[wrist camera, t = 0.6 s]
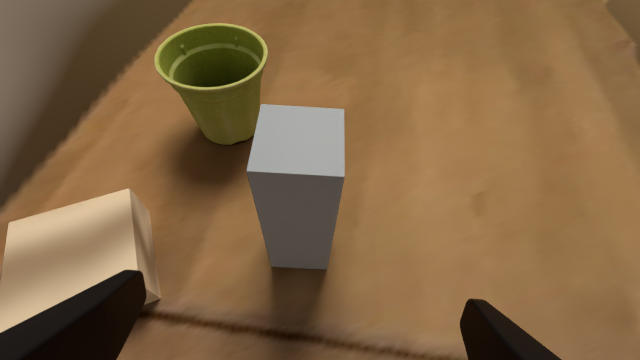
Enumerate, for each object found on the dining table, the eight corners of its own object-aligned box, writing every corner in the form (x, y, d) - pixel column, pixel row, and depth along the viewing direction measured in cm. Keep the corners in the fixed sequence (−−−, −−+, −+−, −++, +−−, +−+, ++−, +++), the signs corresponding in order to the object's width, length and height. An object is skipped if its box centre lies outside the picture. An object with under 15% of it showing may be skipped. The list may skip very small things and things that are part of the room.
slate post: (326, 269, 25) (344, 176, 14) (271, 266, 25) (246, 171, 14) (328, 219, 27) (343, 109, 17) (277, 216, 27) (261, 104, 17)
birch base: (162, 299, 23) (138, 284, 20) (40, 345, 21) (-8, 337, 18) (150, 212, 27) (129, 188, 24) (47, 244, 25) (8, 222, 22)
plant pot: (287, 107, 35) (283, 34, 28) (253, 169, 30) (238, 100, 23) (213, 88, 37) (191, 15, 30) (169, 145, 31) (129, 72, 24)
